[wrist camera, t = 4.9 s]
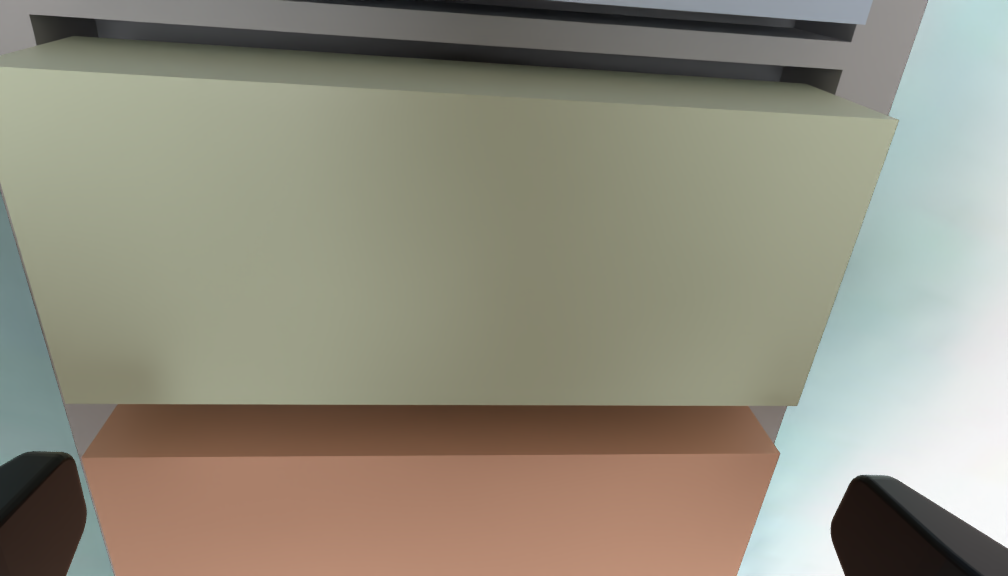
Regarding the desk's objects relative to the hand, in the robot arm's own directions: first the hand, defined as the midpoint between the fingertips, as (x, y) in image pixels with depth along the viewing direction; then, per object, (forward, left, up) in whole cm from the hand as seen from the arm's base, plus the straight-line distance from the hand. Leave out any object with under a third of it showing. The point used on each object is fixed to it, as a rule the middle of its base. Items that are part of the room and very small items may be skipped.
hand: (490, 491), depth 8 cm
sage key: (0, +2, -5) cm, 5 cm away
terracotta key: (0, -4, -5) cm, 6 cm away
